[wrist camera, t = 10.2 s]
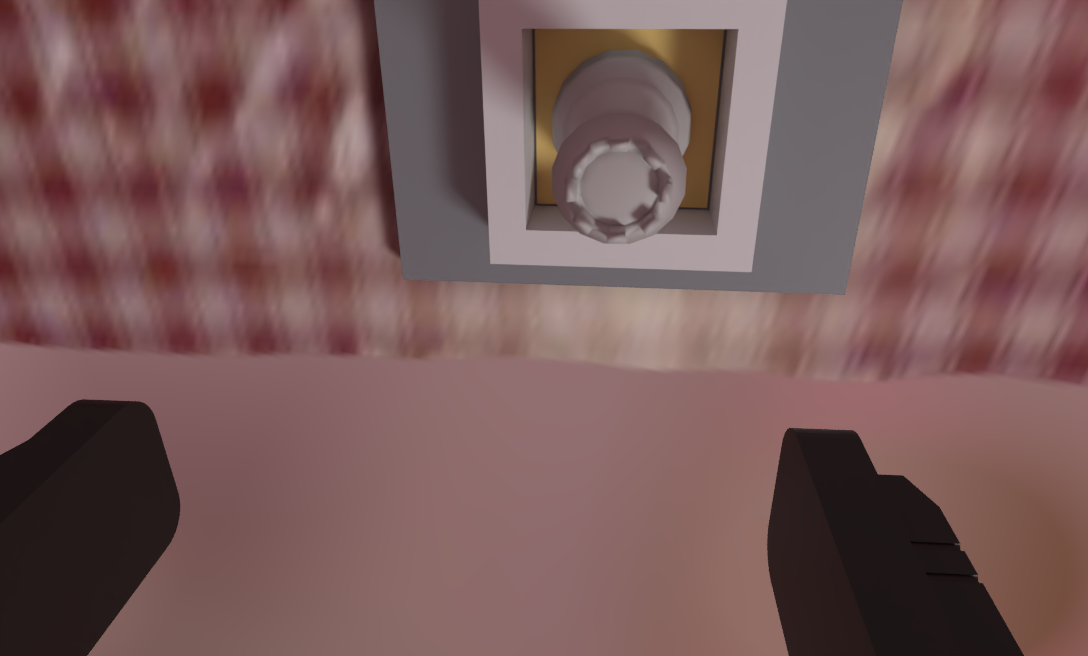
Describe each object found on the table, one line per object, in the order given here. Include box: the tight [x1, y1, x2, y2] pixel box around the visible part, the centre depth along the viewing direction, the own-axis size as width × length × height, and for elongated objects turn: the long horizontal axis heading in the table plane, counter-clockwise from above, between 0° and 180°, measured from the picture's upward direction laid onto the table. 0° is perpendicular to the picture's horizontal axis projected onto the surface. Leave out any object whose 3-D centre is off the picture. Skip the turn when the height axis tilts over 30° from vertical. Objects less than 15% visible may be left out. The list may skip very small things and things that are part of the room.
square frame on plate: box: [374, 0, 903, 295], centre depth 24 cm, size 16×12×4 cm
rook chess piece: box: [552, 50, 692, 244], centre depth 21 cm, size 4×4×8 cm
